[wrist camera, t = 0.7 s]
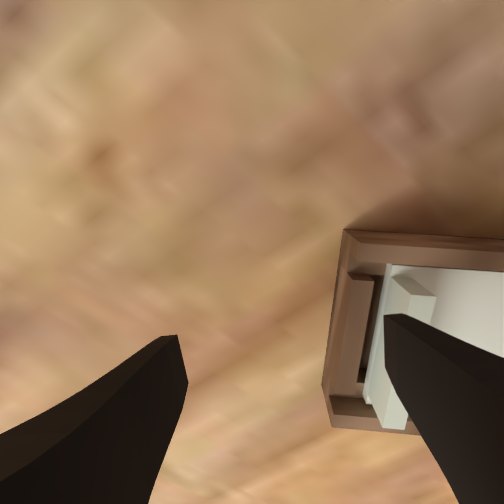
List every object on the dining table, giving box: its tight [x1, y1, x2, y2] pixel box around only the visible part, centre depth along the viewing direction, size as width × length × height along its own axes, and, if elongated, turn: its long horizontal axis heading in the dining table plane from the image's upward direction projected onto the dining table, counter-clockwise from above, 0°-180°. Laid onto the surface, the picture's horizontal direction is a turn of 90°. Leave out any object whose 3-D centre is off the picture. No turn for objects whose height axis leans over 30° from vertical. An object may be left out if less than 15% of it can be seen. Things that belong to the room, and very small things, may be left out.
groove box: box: [322, 229, 504, 435], centre depth 18 cm, size 14×12×4 cm
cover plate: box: [362, 264, 504, 430], centre depth 16 cm, size 11×9×3 cm
